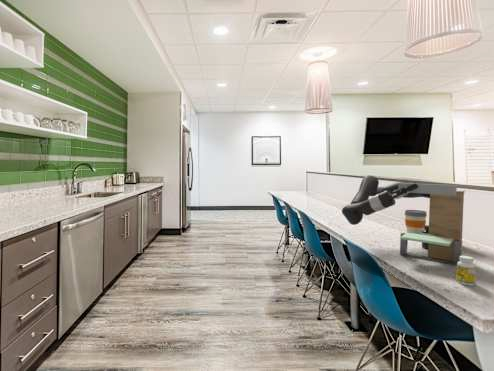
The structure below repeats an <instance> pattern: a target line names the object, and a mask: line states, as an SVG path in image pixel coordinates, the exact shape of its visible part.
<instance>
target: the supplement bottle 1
mask: <svg viewBox="0 0 494 371" xmlns="http://www.w3.org/2000/svg"><path fill="white" fill-rule="evenodd" d="M422 233H425V234H429V224H428V225H427V224H425V226H424V231H422ZM421 248H422V249H425V250H428V243H424V242H421Z"/></svg>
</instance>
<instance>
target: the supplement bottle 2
mask: <svg viewBox="0 0 494 371" xmlns="http://www.w3.org/2000/svg"><path fill="white" fill-rule="evenodd" d="M459 259H460V261H459V262H458V263H457V265H456V282H457V283H459V284H461V285H465V286H474V285H475V284H476V264H474V257H472V256H467V255H462V256H460V257H459Z"/></svg>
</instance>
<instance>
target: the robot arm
mask: <svg viewBox="0 0 494 371" xmlns="http://www.w3.org/2000/svg"><path fill="white" fill-rule="evenodd" d="M399 183H412V182H409V181H396V182H393V183H390V184H388V185H384V186H379V184H380V181H379V179H378V178H377V177H376V176H374V175H365V176H364V177H363V178H362V180H361V183H360V185H359V188H358V191H357V193H356V194H355V195H354V197H353V198H352V200H351V202H350V204H349V203H348V204H347V205H345V206H344V207H342V209H341V213H342V215H343V216H344V218H345V219H346V220H347V222H348V223H349V224H350V225H354V226H355V225H359V224H360V223H361V222H362V220H363V216H364V215H365V216H369V215H372V214H375V213H376V212H380V211H383V210H386V209H387V208H389V207H392V206H395V205H396V200H399V199H402V198H406V199H408V198H409V199H414V198H426V199H430V194H424V193H409V191H412V190H414V189H416V188H418V186H417V184H420V183H419V182H418V183H417V182H414V183H415V184H412V185H410V186H408V188H407V187H405V188H400V189H398V184H399ZM400 191H401V192H400ZM395 199H396V200H395Z"/></svg>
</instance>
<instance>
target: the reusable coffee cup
mask: <svg viewBox="0 0 494 371" xmlns="http://www.w3.org/2000/svg"><path fill="white" fill-rule="evenodd" d="M404 215H405V216H404V217H405V218H404V223H405V228H406V233H414V234H421V233H422V231H424V226H425V225H427V224H426V223H427V215H428V214H427V211H426V210H420V209H419V210H417V209H405V211H404Z"/></svg>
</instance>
